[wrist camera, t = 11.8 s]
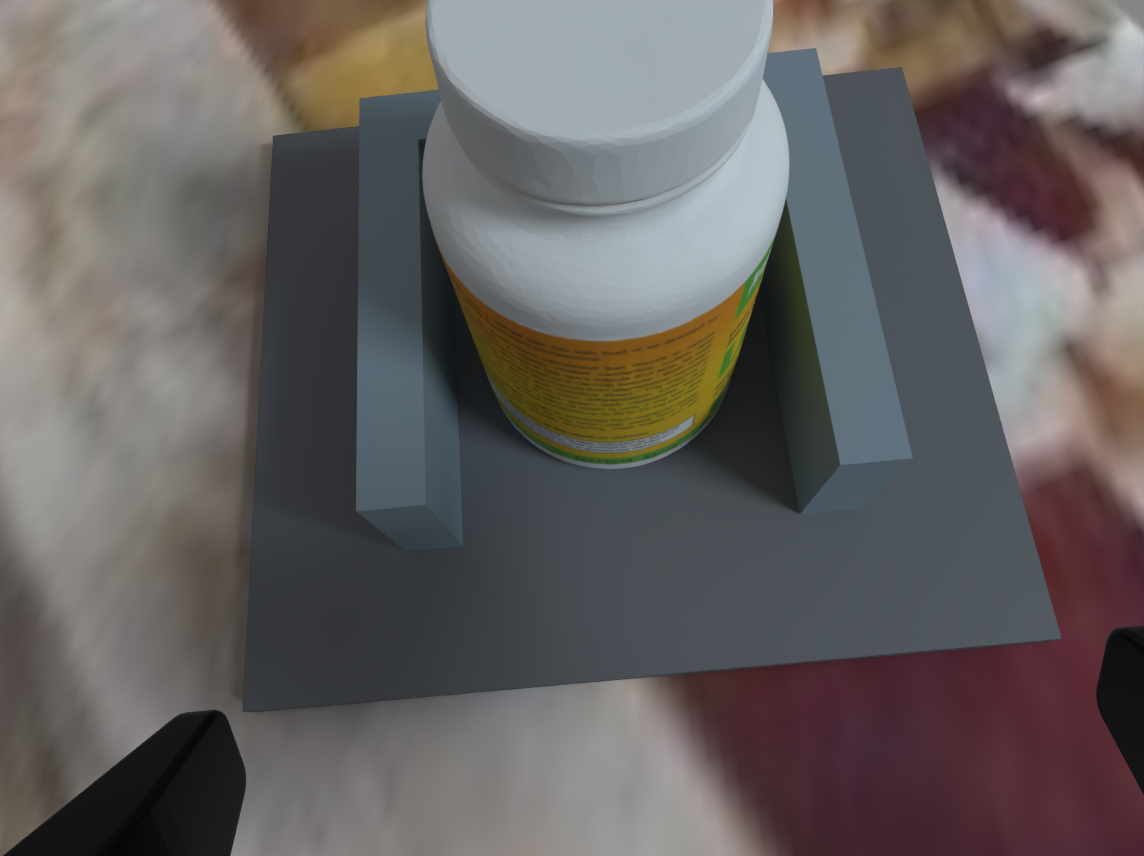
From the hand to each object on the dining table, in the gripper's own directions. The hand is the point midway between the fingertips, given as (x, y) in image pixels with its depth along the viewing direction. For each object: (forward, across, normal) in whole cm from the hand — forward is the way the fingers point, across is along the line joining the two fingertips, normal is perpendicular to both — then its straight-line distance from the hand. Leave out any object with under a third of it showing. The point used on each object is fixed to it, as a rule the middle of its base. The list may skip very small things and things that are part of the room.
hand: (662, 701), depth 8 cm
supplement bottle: (+11, 0, 0) cm, 11 cm away
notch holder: (+12, 0, 0) cm, 12 cm away
